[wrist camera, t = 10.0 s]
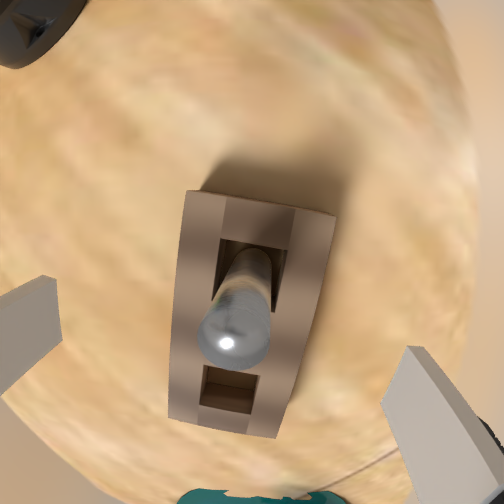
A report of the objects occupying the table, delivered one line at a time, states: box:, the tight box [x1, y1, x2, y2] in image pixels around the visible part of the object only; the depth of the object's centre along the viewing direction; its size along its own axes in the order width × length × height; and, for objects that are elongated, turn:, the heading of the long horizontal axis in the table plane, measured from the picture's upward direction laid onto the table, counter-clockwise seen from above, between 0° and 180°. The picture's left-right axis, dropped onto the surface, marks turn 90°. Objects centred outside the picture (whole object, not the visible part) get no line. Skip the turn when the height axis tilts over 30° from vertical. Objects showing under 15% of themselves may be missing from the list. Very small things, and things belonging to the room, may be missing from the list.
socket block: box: [168, 190, 337, 439], centre depth 23 cm, size 20×10×4 cm, turn 170°
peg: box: [197, 248, 272, 371], centre depth 18 cm, size 3×3×12 cm
